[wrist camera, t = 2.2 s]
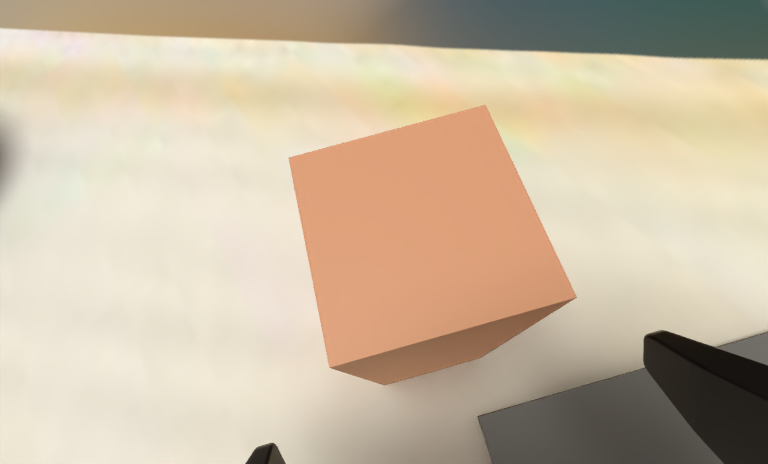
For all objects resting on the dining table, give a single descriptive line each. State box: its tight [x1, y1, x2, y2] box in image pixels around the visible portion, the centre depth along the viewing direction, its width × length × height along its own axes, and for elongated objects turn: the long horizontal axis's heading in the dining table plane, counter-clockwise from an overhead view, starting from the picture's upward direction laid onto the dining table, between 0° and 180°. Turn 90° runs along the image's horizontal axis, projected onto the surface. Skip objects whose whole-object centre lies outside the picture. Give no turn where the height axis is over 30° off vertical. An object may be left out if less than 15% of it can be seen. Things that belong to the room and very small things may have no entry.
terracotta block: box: [289, 105, 577, 385], centre depth 15 cm, size 5×5×13 cm
